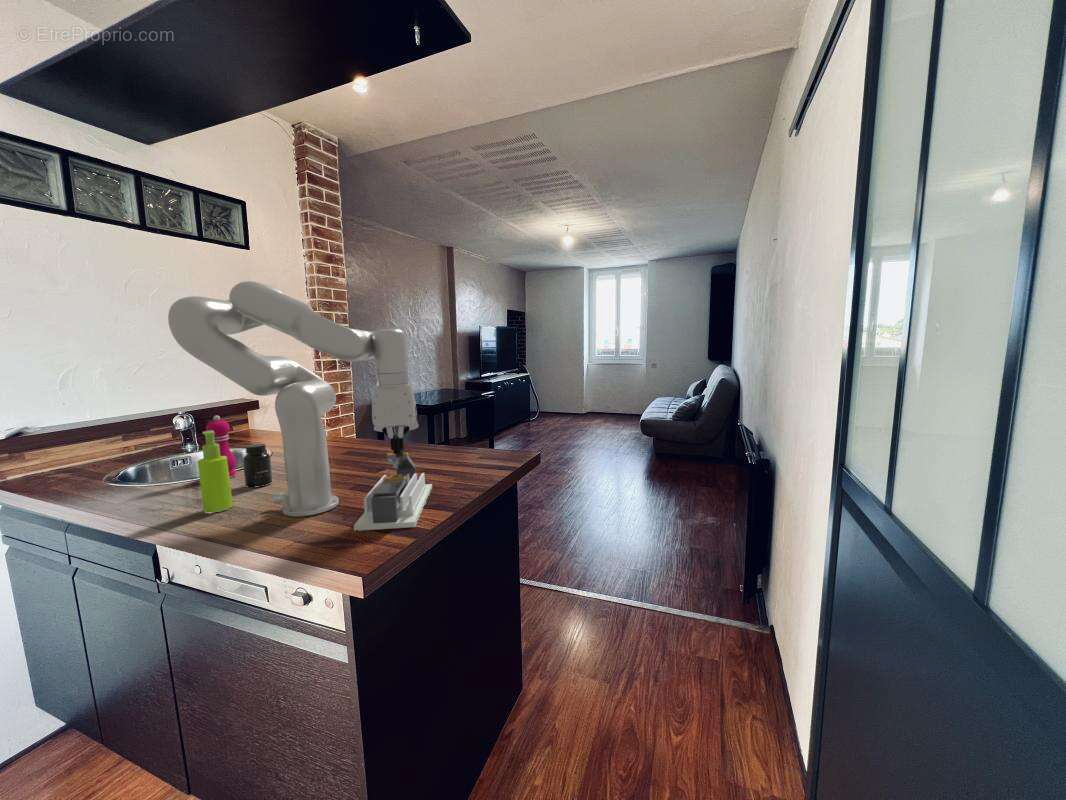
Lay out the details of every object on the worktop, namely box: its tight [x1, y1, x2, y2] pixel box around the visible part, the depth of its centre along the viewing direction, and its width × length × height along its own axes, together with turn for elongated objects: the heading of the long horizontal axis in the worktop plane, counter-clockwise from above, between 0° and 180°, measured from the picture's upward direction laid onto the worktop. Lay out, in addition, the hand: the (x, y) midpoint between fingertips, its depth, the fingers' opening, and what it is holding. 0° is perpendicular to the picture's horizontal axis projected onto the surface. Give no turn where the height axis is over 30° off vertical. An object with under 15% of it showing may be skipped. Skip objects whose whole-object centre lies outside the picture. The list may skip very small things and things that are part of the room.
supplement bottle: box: [242, 443, 273, 488], centre depth 126 cm, size 7×7×12 cm
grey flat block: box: [373, 475, 406, 497], centre depth 99 cm, size 5×10×2 cm, turn 5°
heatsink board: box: [353, 465, 433, 532], centre depth 105 cm, size 13×26×7 cm, turn 5°
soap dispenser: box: [197, 430, 234, 512], centre depth 106 cm, size 6×7×20 cm
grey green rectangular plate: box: [386, 451, 416, 470], centre depth 111 cm, size 5×10×2 cm
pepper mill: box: [205, 415, 237, 477], centre depth 134 cm, size 7×7×20 cm
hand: (398, 452), depth 107 cm, fingers closed
